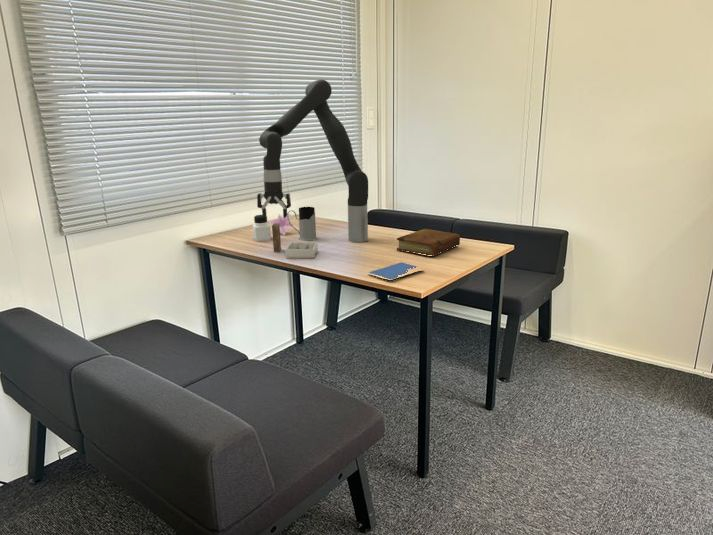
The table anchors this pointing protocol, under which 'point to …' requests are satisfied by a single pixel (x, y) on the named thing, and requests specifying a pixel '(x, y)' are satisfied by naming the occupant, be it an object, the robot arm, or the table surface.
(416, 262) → the table surface
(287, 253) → the plank slot holder tray
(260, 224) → the medicine bottle
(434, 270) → the table surface
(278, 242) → the wooden plank piece
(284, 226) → the lily
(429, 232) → the diary
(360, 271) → the table surface
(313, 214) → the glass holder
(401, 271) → the blue notebook
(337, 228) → the table surface
